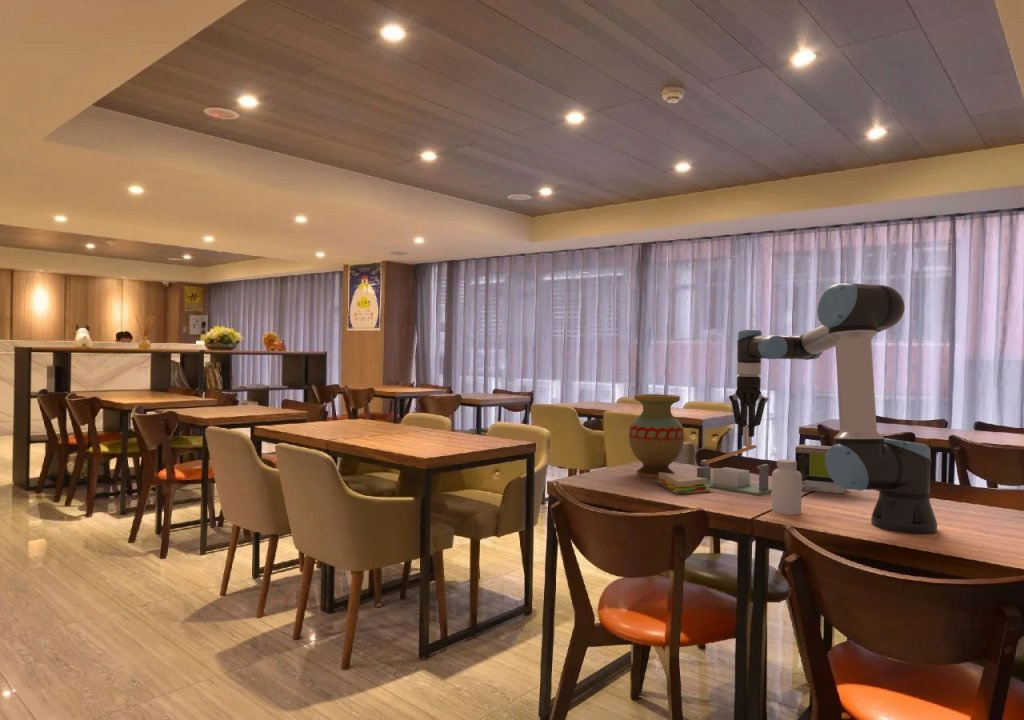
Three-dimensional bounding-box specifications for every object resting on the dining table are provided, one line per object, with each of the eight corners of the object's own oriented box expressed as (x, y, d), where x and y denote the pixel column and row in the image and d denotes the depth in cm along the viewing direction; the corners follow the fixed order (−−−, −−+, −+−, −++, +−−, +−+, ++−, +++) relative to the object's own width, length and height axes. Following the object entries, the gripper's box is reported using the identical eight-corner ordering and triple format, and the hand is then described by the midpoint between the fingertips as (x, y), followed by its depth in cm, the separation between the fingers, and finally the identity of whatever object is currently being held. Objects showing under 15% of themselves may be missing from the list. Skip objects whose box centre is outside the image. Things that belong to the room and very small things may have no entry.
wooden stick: (699, 467, 240) (697, 461, 241) (705, 466, 242) (703, 460, 243) (752, 450, 226) (750, 443, 227) (757, 449, 228) (755, 443, 229)
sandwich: (684, 485, 239) (685, 470, 239) (717, 496, 220) (717, 480, 220) (645, 486, 235) (645, 472, 235) (675, 498, 216) (675, 482, 216)
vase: (621, 472, 260) (623, 393, 260) (672, 472, 263) (673, 394, 262) (637, 482, 241) (638, 396, 241) (691, 481, 243) (693, 397, 243)
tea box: (846, 490, 233) (847, 446, 232) (843, 495, 224) (844, 449, 224) (799, 485, 241) (800, 443, 241) (794, 489, 232) (795, 446, 232)
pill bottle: (766, 512, 196) (767, 460, 196) (777, 508, 202) (778, 457, 202) (794, 517, 190) (796, 463, 190) (805, 513, 196) (806, 460, 196)
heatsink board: (681, 484, 238) (681, 457, 238) (705, 479, 249) (705, 453, 249) (757, 497, 218) (758, 468, 218) (780, 490, 229) (780, 463, 229)
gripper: (773, 376, 227) (771, 447, 227) (735, 374, 236) (734, 443, 237) (762, 376, 222) (760, 449, 222) (724, 375, 231) (723, 444, 232)
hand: (747, 446), depth 229 cm, fingers closed
